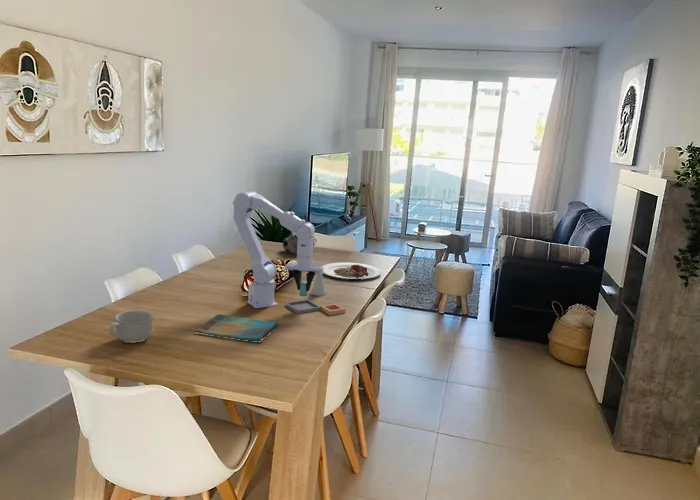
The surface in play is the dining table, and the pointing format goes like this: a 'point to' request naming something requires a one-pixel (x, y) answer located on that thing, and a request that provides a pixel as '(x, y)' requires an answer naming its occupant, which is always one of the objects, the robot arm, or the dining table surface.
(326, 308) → the salmon square dish
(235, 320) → the dish towel
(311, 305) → the tray
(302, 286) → the pin
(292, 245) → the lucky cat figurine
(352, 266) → the plated food
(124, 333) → the teacup
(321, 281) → the flask
